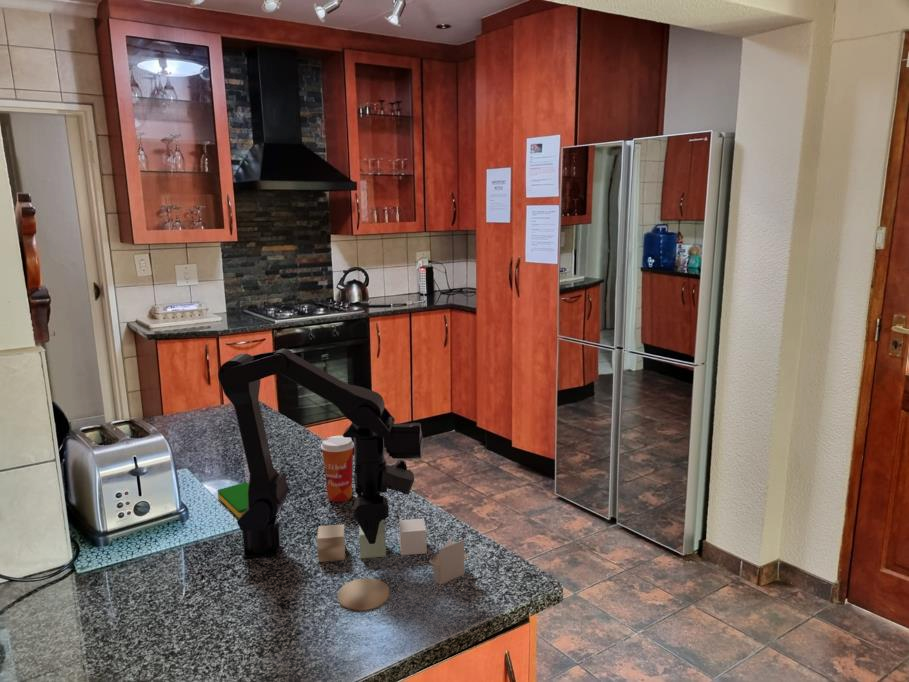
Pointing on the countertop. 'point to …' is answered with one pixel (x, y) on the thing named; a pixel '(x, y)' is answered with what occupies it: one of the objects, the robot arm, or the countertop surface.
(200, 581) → the countertop surface
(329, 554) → the maple block
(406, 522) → the offwhite block
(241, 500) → the dish sponge
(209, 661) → the countertop surface
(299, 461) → the countertop surface
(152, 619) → the countertop surface
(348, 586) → the coaster
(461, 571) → the architectural model
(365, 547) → the sage block
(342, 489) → the paper cup
